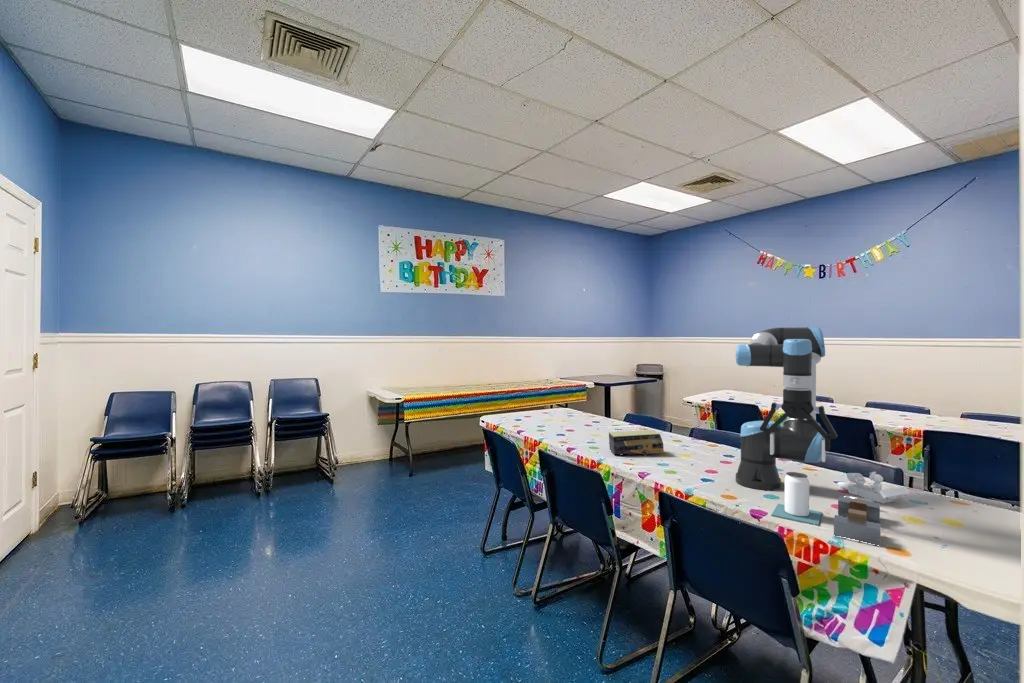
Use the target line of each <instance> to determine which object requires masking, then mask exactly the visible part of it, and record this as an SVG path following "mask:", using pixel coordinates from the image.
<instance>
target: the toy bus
mask: <svg viewBox="0 0 1024 683" xmlns="http://www.w3.org/2000/svg"><path fill="white" fill-rule="evenodd" d="M608 444H609V446H608V447H609V451H610V450H611V451H612V452H613V453H614V454H628V455H643V456H644V455H647V456H648V455H649V454H663V453H664V452H665V449H664V441H663V439H662V435H661V434H660V433H659V432H657V431H655V430H653V429H648V430H647V429H646V430H644V429H643V430H629V431H628V430H627V431H626V430H625V431H610V432H608ZM612 452H611V453H612ZM614 454H613V455H614Z"/></svg>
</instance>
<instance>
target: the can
mask: <svg viewBox="0 0 1024 683" xmlns="http://www.w3.org/2000/svg"><path fill="white" fill-rule="evenodd" d="M784 505H785V511H786V513H788V514H790V515H793V516H797V517H806V516H808V515H809V510H810V480H809V479H808V475H807V474H805V473H802V472H797V471H789V472H786V475H785V477H784Z"/></svg>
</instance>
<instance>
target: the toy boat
mask: <svg viewBox="0 0 1024 683" xmlns="http://www.w3.org/2000/svg"><path fill="white" fill-rule="evenodd" d="M868 473H869V479H870V481H872V482H874V483H873V484H871V485H866V478H865V477H864V476H863V475H862V473H859V472H847V474H846V477H847V480H848V481H849V482H846V481H845V482H844V481H838V482H837V485H838V486H840V488H843V489H844V490H845V491H848V492H849V493H848V494H852V495H855V494H856V496H858V495H859V496H858V497H860V496H861V498H863V497H864V499H870V500H873V502H875V501H876V502H875V503H881V504H885V503H891V502H895V501H896V500H897V499H900V498H903V497H905V496H908V495H909V494H910V493H909V491H908V490H907V489H906V488H905V487H904V486H902V487H896V488H895V487H894V488H888V489H882V488H883V484H882V483H883V481H884V477H883V476H882V475H881V474H878V473H877V471H872V472H868ZM895 499H896V500H895Z"/></svg>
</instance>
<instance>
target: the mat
mask: <svg viewBox="0 0 1024 683" xmlns="http://www.w3.org/2000/svg"><path fill="white" fill-rule="evenodd" d="M822 514H823V511H820V510H819V511H818V510H813V509H809V515H808V516H806V517H797V516H793V515H790V514H788V513H786V511H785V504H782V503H777V505H776V506H775V508H774V510H773V512H772V513H771V517H775V518H779V519H784V520H789V521H794V522H799V523H802V522H804V523H803V524H807V523H809V525H812V524H815V525H814V526H817V525H819V526H820V522H821V518H822Z"/></svg>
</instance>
